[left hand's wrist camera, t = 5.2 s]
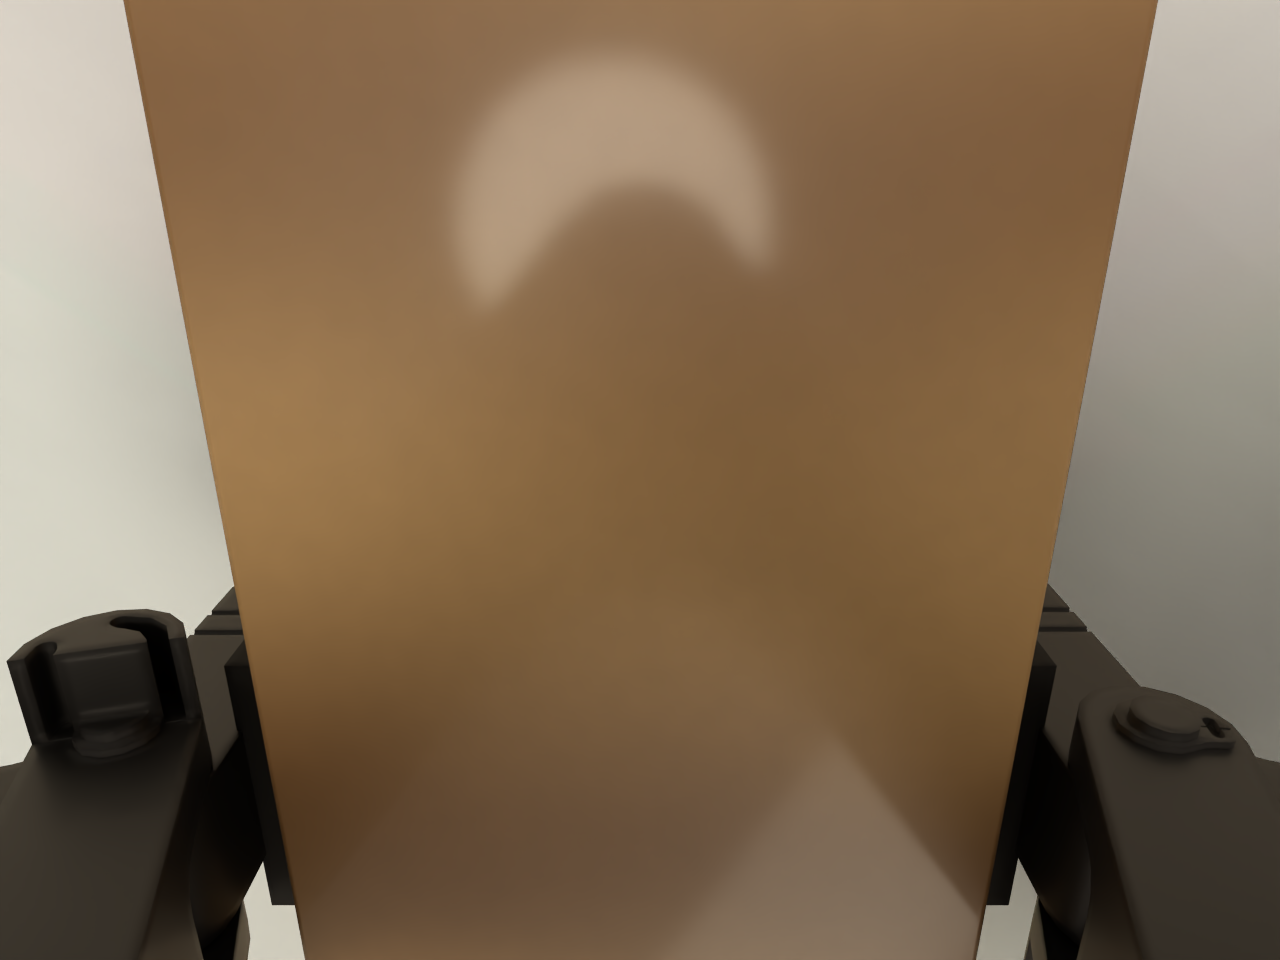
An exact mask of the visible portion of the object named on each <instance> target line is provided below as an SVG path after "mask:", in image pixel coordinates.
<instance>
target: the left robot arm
mask: <svg viewBox="0 0 1280 960" xmlns="http://www.w3.org/2000/svg"><path fill="white" fill-rule="evenodd" d="M7 664H8V668H9V671H10V674H11V677H12V681H13V684H14V687H15V690H16V694H17V697H18V700H19V704H20V707H21V710H22V713H23V717H24V720H25V723H26V726H27V730H28V733H29V736H30V739H31V743H32V746H31V748H30V750H29V752H28V753H27V755H26V757H25V759H24V761H23V762H20V763H16V764H12V765H7V766H2V767H0V960H247V959H248V951H249V944H250V933H249V926H248V919H247V914H246V910H245V905H244V901H243V899H244V897H245V895H246V893H247V891H248V889H249V887H250V885H251V883H252V881H253V879H254V878H255V876H256V874H257V872H258V870H259V868H260V866H261V864H262V862H263V863H264V868H265V872H266V877H267V882H268V887H269V892H270V897H271V902H272V905H295V903H294V898H293V893H292V887H291V882H290V877H289V871H288V866H287V861H286V856H285V850H284V845H283V840H282V835H281V829H280V824H279V819H278V813H277V808H276V803H275V798H274V792H273V787H272V782H271V776H270V771H269V766H268V761H267V755H266V750H265V745H264V739H263V734H262V729H261V724H260V718H259V713H258V708H257V703H256V697H255V692H254V687H253V681H252V676H251V671H250V666H249V660H248V655H247V650H246V644H245V639H244V634H243V629H242V623H241V618H240V613H239V608H238V602H237V597H236V592H235V586H234V587H232V589H231V590H230V591H229V592H228V593H227V594H226V595H225V596H224V598H223V599H222V600H221V601H220V602H219V603H218V604H217V605H216V607H215V608H214V609H213V610H212V615H208V616H207V617H206V618H205V619H204V620H203V621H202V622H201V623H200V625H199V626H198V627H197V628H196V629H195V634H194V635H190V636H189V637H188V638H186V633H185V629H184V624H183V622H181V621H180V620H178V619H177V618H176V617H174V616H173V615H171V614H170V613H165V612H160V611H154V610H149V609H138V610H116V611H112V612H107V613H102V614H97V615H92V616H87V617H83V618H80V619H77V620H75V621H72V622H69V623H66V624H64V625H61V626H58V627H55V628H52V629H50V630H48V631H47V632H45V633H43V634H41V635H40V636H38V637H36V638H34V639H33V640H31V641H29V642H27V643H25V644H24V645H23V646H22V647H21V648H20V649H19V650H18V651H17V652H16V653H15V654H14V655H13V656H12V657H10V658H9V659H8V660H7ZM1018 858H1019V860H1020V862H1021V864H1022V866H1023V868H1024V870H1025V872H1026V874H1027V876H1028V877H1029V879H1030V881H1031V883H1032V885H1033V887H1034V889H1035V891H1036V893H1037V895H1038V896H1037V901H1036V905H1035V910H1034V914H1033V919H1032V924H1031V928H1030V933H1029V937H1028V942H1027V947H1026V951H1025V956H1024V960H1280V763H1279V762H1274V761H1269V760H1265V759H1261V758H1257V757H1255V756H1254V754H1253V752H1252V750H1251V748H1250V746H1249V744H1248V743H1247V742H1246V740H1245V739H1244V738H1243V737H1242V736H1241V735H1240V733H1239V732H1238V731H1237V730H1236V729H1235V728H1234V726H1233V725H1232V724H1230V723H1229V722H1227V721H1226V720H1224V719H1223V718H1221V717H1220V716H1218V715H1217V714H1215V713H1214V712H1212V711H1211V710H1209V709H1208V708H1206V707H1204V706H1202V705H1199V704H1197V703H1195V702H1192V701H1190V700H1187V699H1185V698H1183V697H1180V696H1178V695H1176V694H1171V693H1167V692H1163V691H1159V690H1155V689H1151V688H1146V687H1140V686H1139V685H1138V684H1137V682H1136V681H1135V680H1134V679H1133V678H1132V677H1131V676H1130V675H1129V674H1128V672H1127V671H1126V670H1125V669H1124V668H1123V667H1122V666H1121V665H1120V663H1119V662H1118V661H1117V660H1116V659H1115V658H1114V657H1113V656H1112V655H1111V653H1110V652H1109V651H1108V650H1107V649H1106V648H1105V647H1104V646H1103V645H1102V643H1101V642H1100V641H1099V640H1098V639H1097V638H1096V637H1095V636H1094V634H1093V633H1092V632H1087V627H1086V626H1085V624H1084V623H1083V622H1082V621H1081V620H1080V619H1079V618H1078V617H1077V615H1076V614H1075V613H1074V612H1070V611H1069V607H1068V605H1067V604H1066V603H1065V602H1064V601H1063V600H1062V599H1061V598H1060V596H1059V595H1058V594H1057V593H1056V592H1055V591H1054V590H1053V589H1052V588H1051V586H1050V585H1049V584H1047V587H1046V593H1045V598H1044V603H1043V608H1042V614H1041V619H1040V624H1039V630H1038V635H1037V640H1036V645H1035V651H1034V656H1033V661H1032V666H1031V672H1030V677H1029V682H1028V688H1027V693H1026V698H1025V703H1024V709H1023V714H1022V719H1021V724H1020V730H1019V735H1018V740H1017V745H1016V751H1015V756H1014V761H1013V767H1012V772H1011V777H1010V782H1009V788H1008V793H1007V798H1006V803H1005V809H1004V814H1003V819H1002V824H1001V830H1000V835H999V840H998V846H997V851H996V856H995V861H994V867H993V872H992V877H991V882H990V888H989V893H988V898H987V903H986V905H1009V900H1010V895H1011V890H1012V885H1013V880H1014V876H1015V871H1016V866H1017V861H1018Z"/></svg>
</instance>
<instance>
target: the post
mask: <svg viewBox="0 0 1280 960" xmlns="http://www.w3.org/2000/svg"><path fill="white" fill-rule="evenodd" d="M1157 3H1158V0H124V6H125V11H126V16H127V22H128V27H129V32H130V37H131V43H132V48H133V53H134V59H135V64H136V69H137V74H138V80H139V85H140V90H141V95H142V101H143V106H144V111H145V117H146V122H147V127H148V132H149V138H150V143H151V148H152V154H153V159H154V164H155V169H156V175H157V180H158V185H159V190H160V196H161V201H162V206H163V212H164V217H165V222H166V227H167V233H168V238H169V243H170V249H171V254H172V259H173V264H174V270H175V275H176V280H177V286H178V291H179V296H180V301H181V307H182V312H183V317H184V322H185V328H186V333H187V338H188V344H189V349H190V354H191V359H192V365H193V370H194V375H195V381H196V386H197V391H198V396H199V402H200V407H201V412H202V417H203V423H204V428H205V433H206V439H207V444H208V449H209V454H210V460H211V465H212V470H213V476H214V481H215V486H216V491H217V497H218V502H219V507H220V513H221V518H222V523H223V528H224V534H225V539H226V544H227V549H228V555H229V560H230V565H231V571H232V576H233V581H234V586H235V592H236V597H237V602H238V608H239V613H240V618H241V623H242V629H243V634H244V639H245V644H246V650H247V655H248V660H249V666H250V671H251V676H252V681H253V687H254V692H255V697H256V703H257V708H258V713H259V718H260V724H261V729H262V734H263V739H264V745H265V750H266V755H267V761H268V766H269V771H270V776H271V782H272V787H273V792H274V798H275V803H276V808H277V813H278V819H279V824H280V829H281V835H282V840H283V845H284V850H285V856H286V861H287V866H288V871H289V877H290V882H291V887H292V893H293V898H294V903H295V908H296V914H297V919H298V924H299V930H300V935H301V940H302V945H303V951H304V956H305V960H976V956H977V951H978V946H979V940H980V935H981V930H982V925H983V919H984V914H985V909H986V903H987V898H988V893H989V888H990V882H991V877H992V872H993V867H994V861H995V856H996V851H997V846H998V840H999V835H1000V830H1001V824H1002V819H1003V814H1004V809H1005V803H1006V798H1007V793H1008V788H1009V782H1010V777H1011V772H1012V767H1013V761H1014V756H1015V751H1016V745H1017V740H1018V735H1019V730H1020V724H1021V719H1022V714H1023V709H1024V703H1025V698H1026V693H1027V688H1028V682H1029V677H1030V672H1031V666H1032V661H1033V656H1034V651H1035V645H1036V640H1037V635H1038V630H1039V624H1040V619H1041V614H1042V608H1043V603H1044V598H1045V593H1046V587H1047V582H1048V577H1049V572H1050V566H1051V561H1052V556H1053V551H1054V545H1055V540H1056V535H1057V529H1058V524H1059V519H1060V514H1061V508H1062V503H1063V498H1064V493H1065V487H1066V482H1067V477H1068V472H1069V466H1070V461H1071V456H1072V450H1073V445H1074V440H1075V435H1076V429H1077V424H1078V419H1079V414H1080V408H1081V403H1082V398H1083V393H1084V387H1085V382H1086V377H1087V371H1088V366H1089V361H1090V356H1091V350H1092V345H1093V340H1094V335H1095V329H1096V324H1097V319H1098V313H1099V308H1100V303H1101V298H1102V292H1103V287H1104V282H1105V277H1106V271H1107V266H1108V261H1109V256H1110V250H1111V245H1112V240H1113V234H1114V229H1115V224H1116V219H1117V213H1118V208H1119V203H1120V198H1121V192H1122V187H1123V182H1124V177H1125V171H1126V166H1127V161H1128V155H1129V150H1130V145H1131V140H1132V134H1133V129H1134V124H1135V119H1136V113H1137V108H1138V103H1139V98H1140V92H1141V87H1142V82H1143V76H1144V71H1145V66H1146V61H1147V55H1148V50H1149V45H1150V40H1151V34H1152V29H1153V24H1154V18H1155V13H1156V8H1157Z"/></svg>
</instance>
